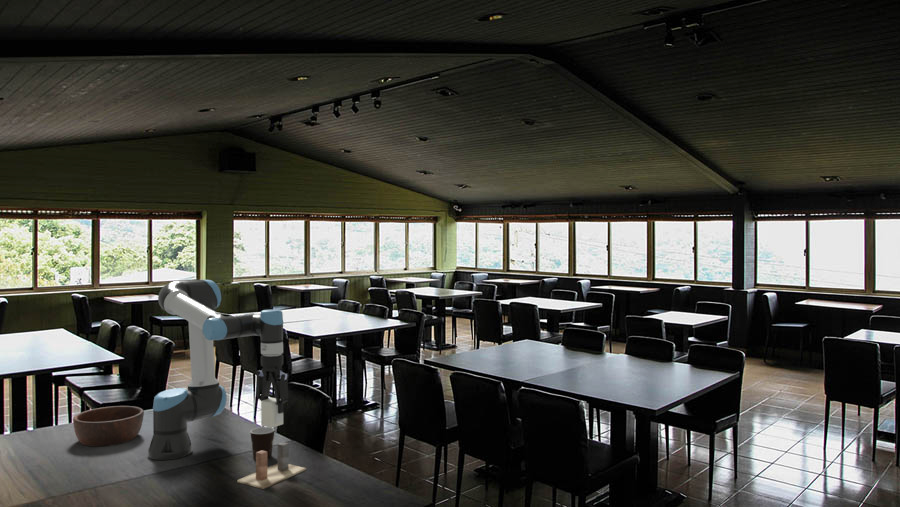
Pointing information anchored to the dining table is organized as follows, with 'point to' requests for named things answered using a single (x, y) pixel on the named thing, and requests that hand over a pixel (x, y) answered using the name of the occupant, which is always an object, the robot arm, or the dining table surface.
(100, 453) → the dining table surface
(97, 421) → the wooden bowl
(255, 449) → the coffee mug
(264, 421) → the upright off-white block
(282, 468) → the stand
